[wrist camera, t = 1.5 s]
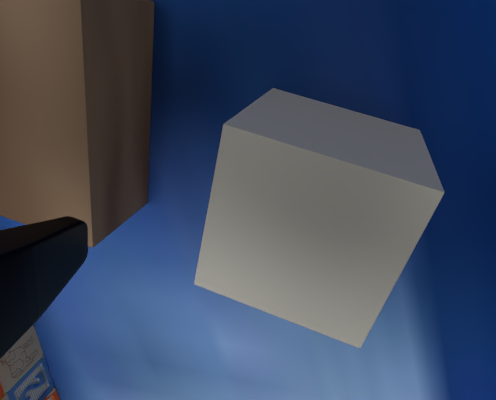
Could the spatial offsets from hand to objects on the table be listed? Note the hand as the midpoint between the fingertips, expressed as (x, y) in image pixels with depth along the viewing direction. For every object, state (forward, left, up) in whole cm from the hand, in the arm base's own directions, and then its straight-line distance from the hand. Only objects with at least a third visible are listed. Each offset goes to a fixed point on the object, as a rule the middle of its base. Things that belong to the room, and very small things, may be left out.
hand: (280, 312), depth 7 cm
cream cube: (0, 0, -7) cm, 7 cm away
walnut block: (+11, 0, -8) cm, 13 cm away
